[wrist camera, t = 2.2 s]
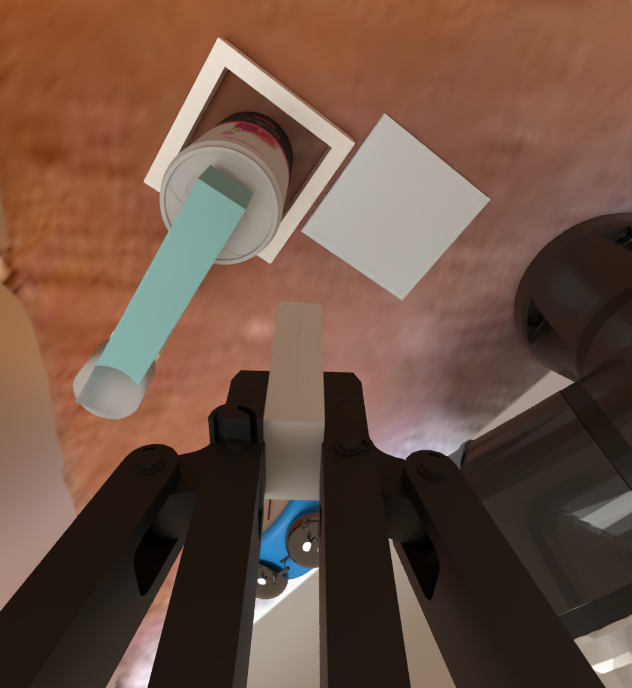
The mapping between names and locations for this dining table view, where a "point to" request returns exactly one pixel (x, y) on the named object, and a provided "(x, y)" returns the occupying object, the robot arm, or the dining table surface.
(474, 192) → the mat
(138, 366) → the bar
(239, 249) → the beverage can
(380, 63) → the dining table surface
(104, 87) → the dining table surface
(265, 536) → the alarm clock
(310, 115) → the grey frame with post
